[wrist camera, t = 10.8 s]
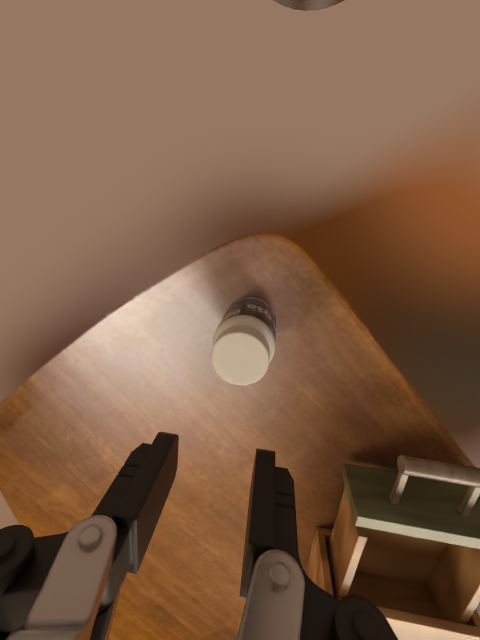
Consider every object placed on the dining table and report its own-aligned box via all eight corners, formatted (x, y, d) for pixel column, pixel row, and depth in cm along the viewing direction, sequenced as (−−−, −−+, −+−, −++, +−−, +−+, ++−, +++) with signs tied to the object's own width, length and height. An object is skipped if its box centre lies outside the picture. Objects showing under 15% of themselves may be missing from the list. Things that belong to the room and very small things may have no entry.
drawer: (354, 423, 29) (372, 470, 23) (499, 446, 28) (554, 502, 22) (316, 558, 35) (323, 620, 30) (433, 581, 34) (463, 649, 29)
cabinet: (316, 526, 35) (327, 605, 28) (446, 550, 34) (491, 639, 27) (294, 608, 40) (298, 692, 33) (406, 632, 39) (435, 725, 32)
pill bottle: (286, 323, 27) (290, 365, 19) (248, 353, 29) (238, 403, 21) (252, 285, 27) (242, 312, 19) (215, 317, 28) (190, 355, 20)
